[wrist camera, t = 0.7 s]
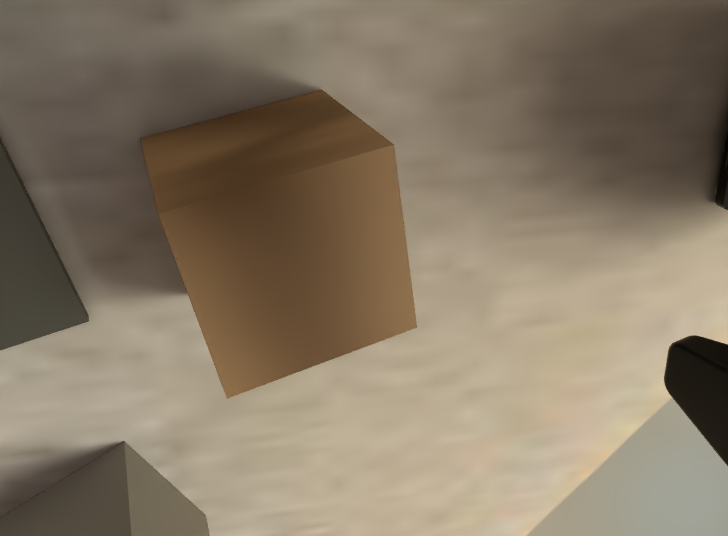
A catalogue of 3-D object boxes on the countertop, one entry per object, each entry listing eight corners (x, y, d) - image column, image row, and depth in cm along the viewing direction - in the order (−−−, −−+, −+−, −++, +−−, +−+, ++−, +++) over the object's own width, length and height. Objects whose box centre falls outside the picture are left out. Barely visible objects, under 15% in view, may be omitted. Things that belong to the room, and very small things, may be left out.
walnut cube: (321, 89, 17) (393, 144, 13) (349, 242, 20) (417, 327, 16) (139, 137, 16) (158, 214, 12) (196, 293, 19) (227, 398, 15)
